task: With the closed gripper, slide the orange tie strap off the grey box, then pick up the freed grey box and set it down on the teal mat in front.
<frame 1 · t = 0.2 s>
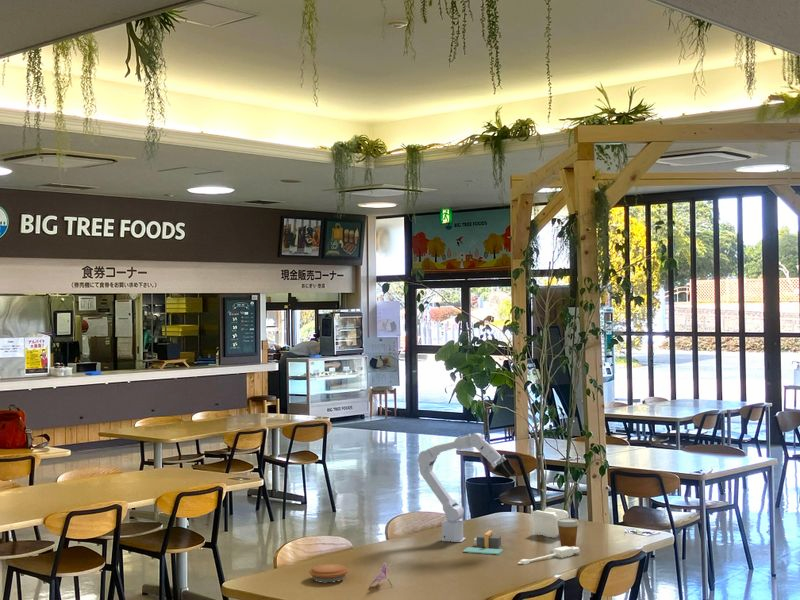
hand: (512, 475, 430), 31 cm above the table, tool tilted 45°, fingers open, 7 cm apart
cable organizer: (551, 535, 446), on the table
disposable coffee cup: (568, 547, 422), on the table
mat: (483, 551, 416), on the table
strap: (488, 539, 426), point 3 cm above the table, slide at 0.0 cm
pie: (328, 580, 375), on the table
lily: (382, 586, 364), on the table
grey box: (488, 547, 426), on the table
charging cable: (549, 559, 402), on the table
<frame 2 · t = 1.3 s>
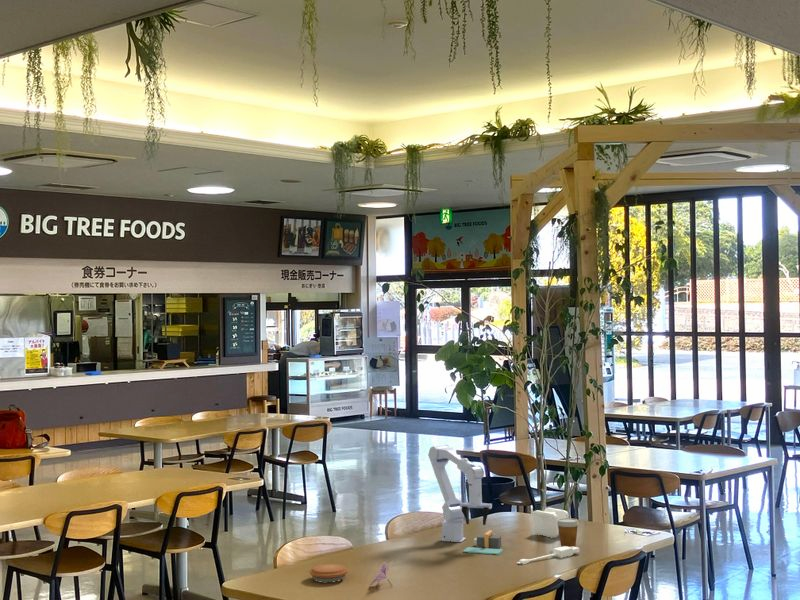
hand: (476, 524, 428), 10 cm above the table, tool pointing down, fingers open, 7 cm apart
nothing on the table moved.
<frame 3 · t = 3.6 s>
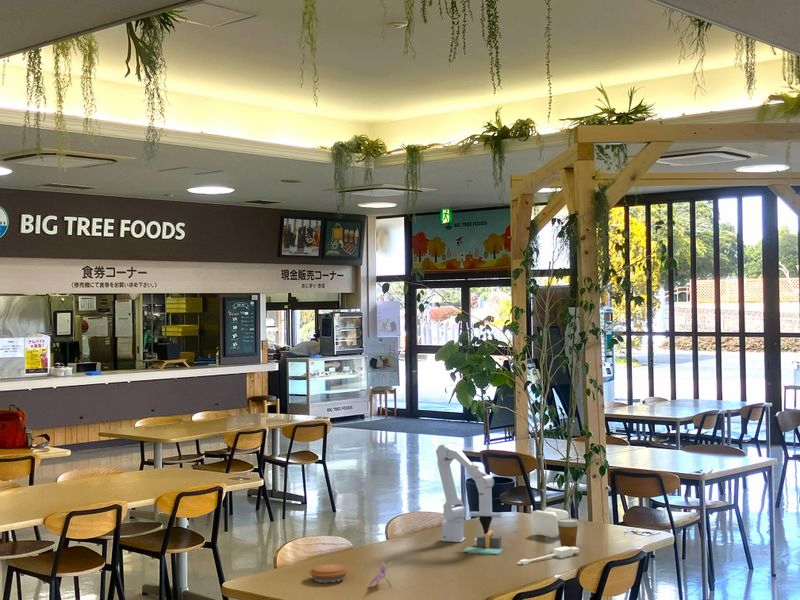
hand: (486, 533, 426), 6 cm above the table, tool pointing down, fingers closed
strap: (489, 539, 426), point 3 cm above the table, slide at 0.4 cm, touching gripper
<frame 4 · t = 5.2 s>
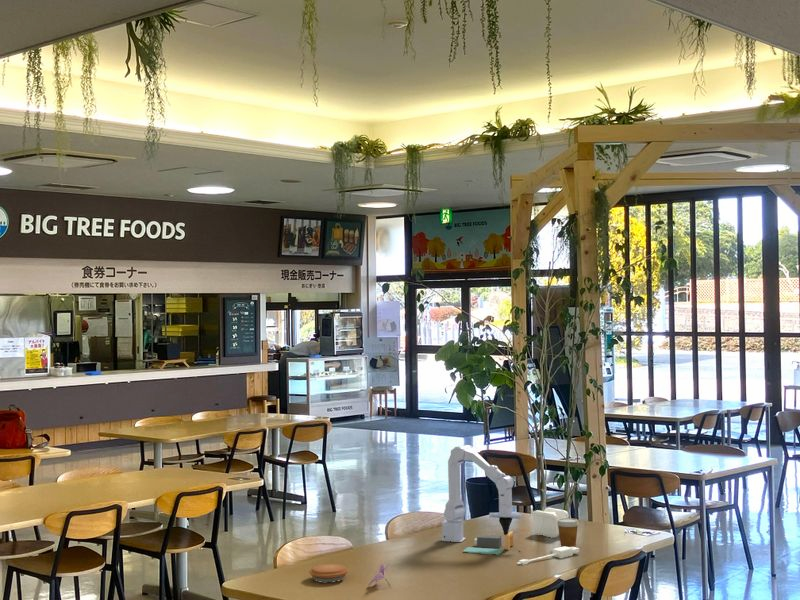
hand: (506, 534, 423), 6 cm above the table, tool pointing down, fingers closed
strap: (509, 540, 423), point 3 cm above the table, slide at 9.6 cm, touching gripper
everything else where it was.
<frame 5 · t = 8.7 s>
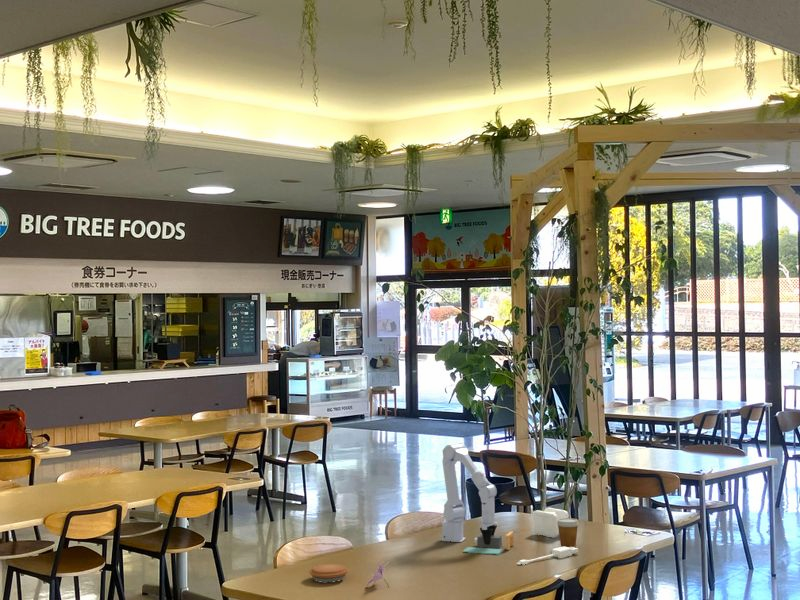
hand: (488, 542, 426), 2 cm above the table, tool pointing down, fingers closed on grey box, 5 cm apart
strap: (509, 540, 423), point 3 cm above the table, slide at 9.6 cm
grey box: (489, 546, 426), on the table, touching gripper
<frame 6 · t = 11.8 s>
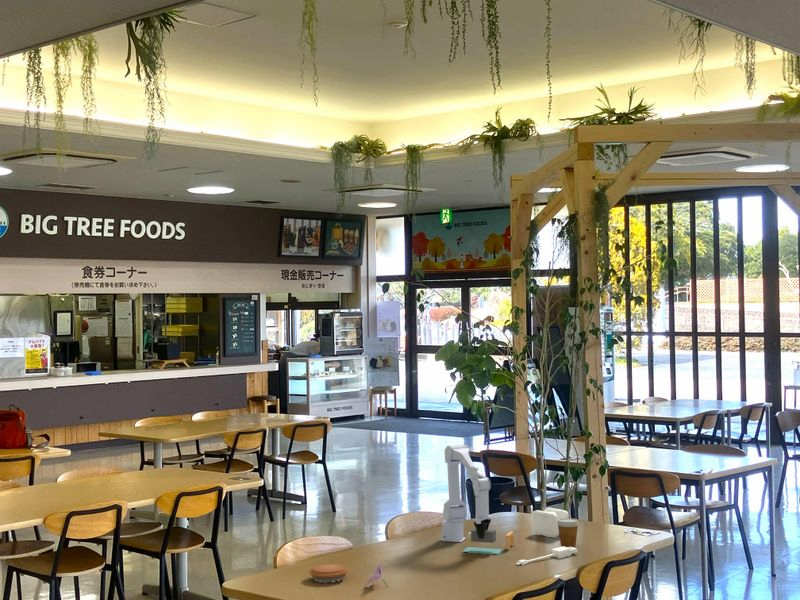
hand: (482, 537, 416), 6 cm above the table, tool pointing down, fingers closed on grey box, 5 cm apart
grey box: (483, 541, 416), point 5 cm above the table, touching gripper
when the fingers open (4 cm above the table, at t = 12.7 s): grey box drops 1 cm, resting on mat.
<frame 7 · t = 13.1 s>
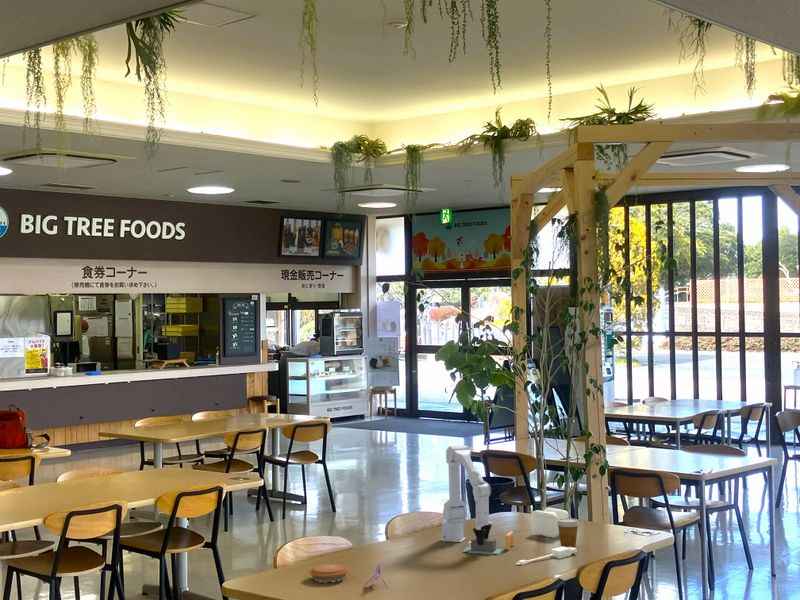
hand: (482, 543, 416), 4 cm above the table, tool pointing down, fingers open, 7 cm apart
grey box: (483, 550, 416), point 1 cm above the table, touching mat
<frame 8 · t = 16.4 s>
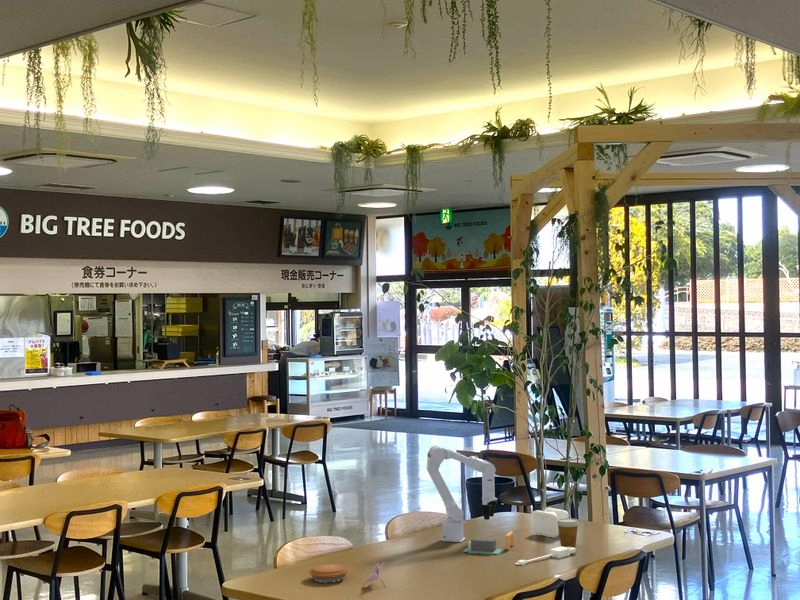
hand: (488, 517, 442), 9 cm above the table, tool pointing down, fingers open, 7 cm apart
at the end: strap slide at 9.6 cm; grey box inside the target area (0.3 cm from its centre), point 0.6 cm above the table; the gripper is holding nothing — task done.
